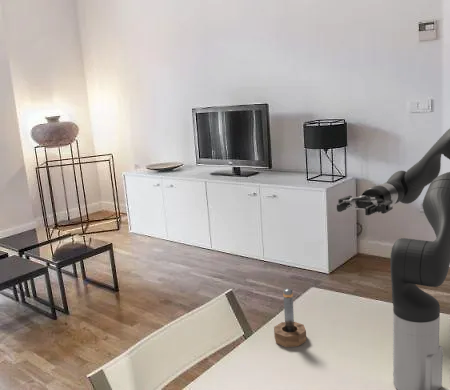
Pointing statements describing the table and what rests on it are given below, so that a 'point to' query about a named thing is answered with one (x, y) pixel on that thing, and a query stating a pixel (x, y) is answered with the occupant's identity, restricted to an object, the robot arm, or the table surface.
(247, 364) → the table surface
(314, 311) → the table surface
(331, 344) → the table surface
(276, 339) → the bead
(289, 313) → the banded metal pin
